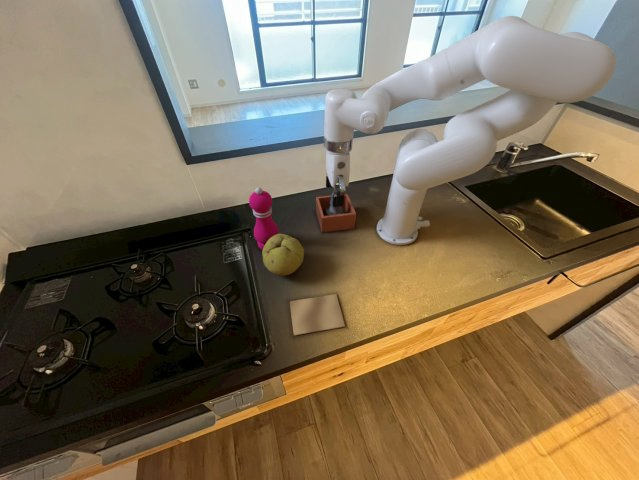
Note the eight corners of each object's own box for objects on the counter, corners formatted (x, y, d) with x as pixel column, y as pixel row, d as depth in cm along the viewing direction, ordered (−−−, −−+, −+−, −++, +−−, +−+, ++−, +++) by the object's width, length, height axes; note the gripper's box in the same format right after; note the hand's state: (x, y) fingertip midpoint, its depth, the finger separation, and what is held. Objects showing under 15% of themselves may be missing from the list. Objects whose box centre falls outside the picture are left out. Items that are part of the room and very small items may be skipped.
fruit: (302, 249, 82) (301, 224, 75) (307, 281, 74) (305, 256, 67) (264, 253, 81) (259, 228, 74) (265, 286, 73) (259, 261, 66)
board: (336, 294, 71) (336, 293, 71) (345, 326, 65) (345, 326, 65) (289, 302, 70) (289, 301, 69) (293, 335, 64) (293, 335, 63)
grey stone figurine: (342, 226, 89) (344, 196, 81) (324, 224, 90) (324, 193, 82) (344, 215, 93) (347, 184, 85) (327, 212, 94) (328, 182, 86)
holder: (346, 207, 96) (347, 193, 92) (354, 228, 89) (356, 213, 85) (315, 211, 95) (315, 197, 90) (321, 232, 87) (321, 218, 83)
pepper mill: (285, 240, 85) (278, 185, 71) (270, 255, 81) (259, 200, 66) (267, 232, 88) (257, 177, 73) (251, 246, 83) (237, 190, 69)
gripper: (361, 158, 67) (353, 212, 80) (343, 127, 79) (339, 179, 92) (331, 160, 66) (328, 215, 79) (318, 129, 78) (317, 181, 91)
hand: (334, 195), depth 85 cm, fingers open, 9 cm apart
